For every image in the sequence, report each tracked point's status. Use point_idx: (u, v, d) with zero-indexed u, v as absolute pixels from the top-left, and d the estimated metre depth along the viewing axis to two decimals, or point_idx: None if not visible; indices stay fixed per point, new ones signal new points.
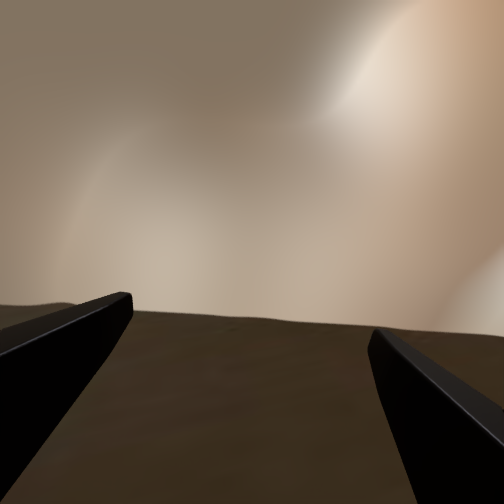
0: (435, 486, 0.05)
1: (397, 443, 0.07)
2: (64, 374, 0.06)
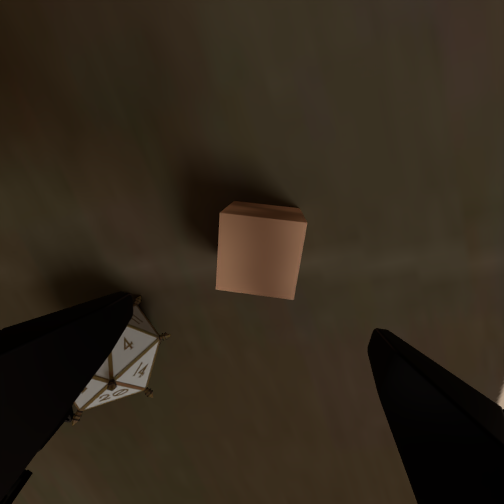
0: (435, 486, 0.05)
1: (397, 443, 0.07)
2: (64, 374, 0.06)
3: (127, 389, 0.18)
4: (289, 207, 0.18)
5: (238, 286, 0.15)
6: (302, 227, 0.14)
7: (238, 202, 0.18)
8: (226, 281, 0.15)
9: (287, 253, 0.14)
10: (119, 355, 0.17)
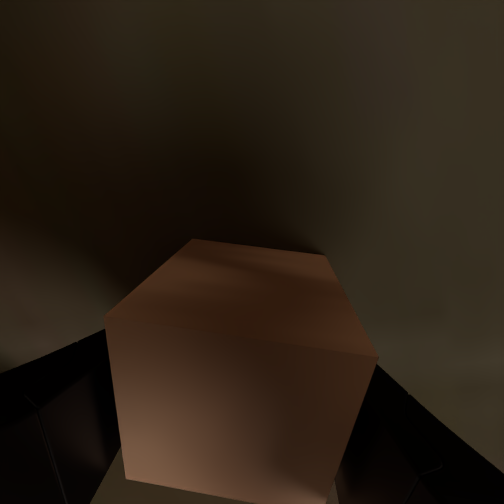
0: (346, 470, 0.05)
1: None
2: None
3: None
4: (305, 255, 0.09)
5: (180, 478, 0.06)
6: (361, 368, 0.04)
7: (198, 244, 0.09)
8: (149, 466, 0.06)
9: (309, 424, 0.05)
10: None
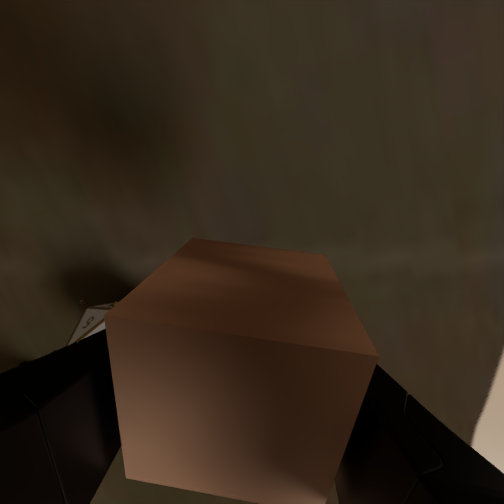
0: (346, 470, 0.05)
1: None
2: None
3: None
4: (305, 254, 0.09)
5: (180, 477, 0.06)
6: (361, 367, 0.04)
7: (199, 244, 0.09)
8: (149, 466, 0.06)
9: (309, 424, 0.05)
10: None
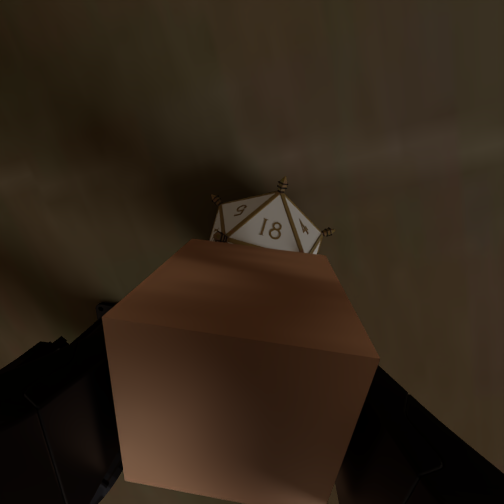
0: (347, 470, 0.05)
1: None
2: None
3: None
4: (305, 255, 0.09)
5: (179, 480, 0.06)
6: (362, 369, 0.04)
7: (198, 244, 0.09)
8: (148, 468, 0.06)
9: (310, 426, 0.05)
10: (301, 236, 0.13)
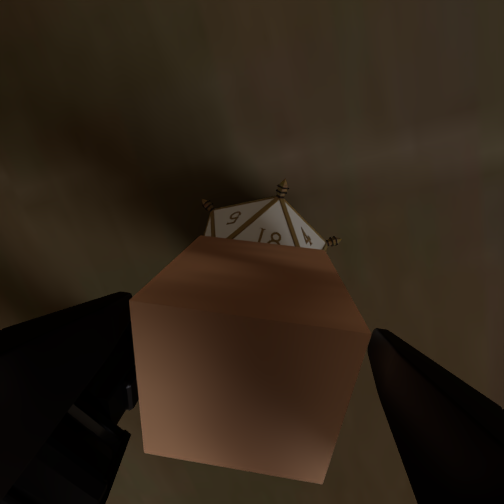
0: (435, 486, 0.05)
1: (397, 443, 0.07)
2: (64, 374, 0.06)
3: None
4: (305, 249, 0.09)
5: (194, 451, 0.07)
6: (356, 343, 0.05)
7: (206, 240, 0.09)
8: (165, 440, 0.07)
9: (310, 397, 0.05)
10: None
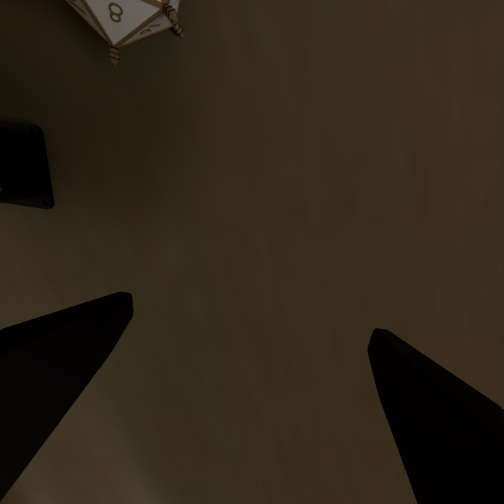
0: (435, 486, 0.05)
1: (397, 443, 0.07)
2: (64, 374, 0.06)
3: None
4: None
5: None
6: None
7: None
8: None
9: None
10: None
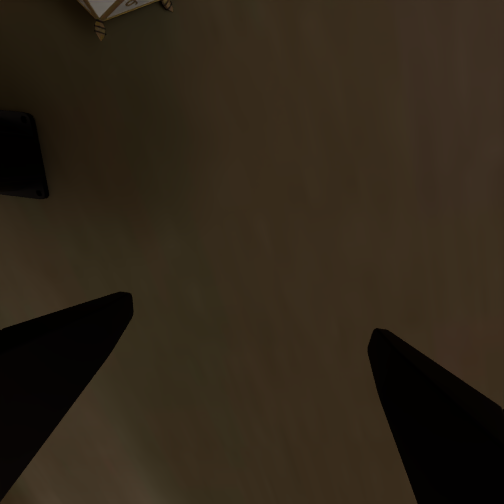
0: (435, 486, 0.05)
1: (397, 443, 0.07)
2: (64, 374, 0.06)
3: None
4: None
5: None
6: None
7: None
8: None
9: None
10: None
